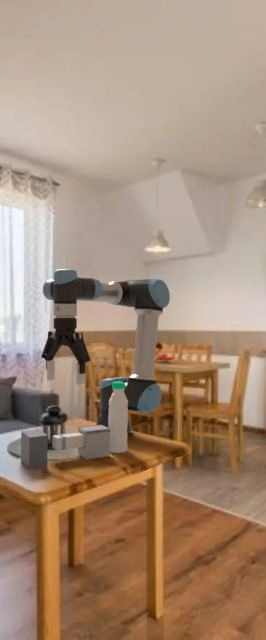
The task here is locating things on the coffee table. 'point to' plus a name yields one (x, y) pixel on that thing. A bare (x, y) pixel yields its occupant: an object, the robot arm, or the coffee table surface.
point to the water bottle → (118, 418)
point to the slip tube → (68, 441)
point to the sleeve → (95, 442)
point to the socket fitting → (34, 448)
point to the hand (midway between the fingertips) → (65, 382)
